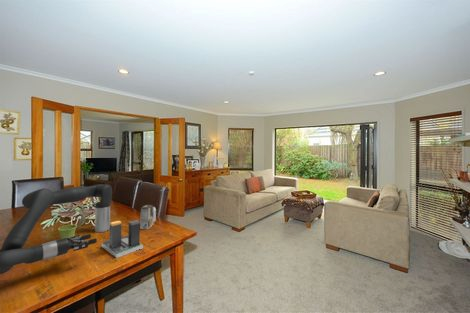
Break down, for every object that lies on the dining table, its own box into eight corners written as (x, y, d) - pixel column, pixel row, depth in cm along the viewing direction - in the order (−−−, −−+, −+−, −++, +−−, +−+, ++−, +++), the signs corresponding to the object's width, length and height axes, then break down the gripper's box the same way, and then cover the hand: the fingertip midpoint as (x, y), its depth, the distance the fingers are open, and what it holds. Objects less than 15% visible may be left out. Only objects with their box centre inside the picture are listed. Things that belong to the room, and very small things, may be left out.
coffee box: (145, 224, 162) (145, 204, 162) (153, 225, 162) (153, 204, 162) (139, 229, 153) (140, 207, 153) (148, 229, 153) (148, 208, 152)
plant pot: (80, 239, 134) (80, 225, 133) (64, 245, 125) (64, 231, 124) (70, 236, 137) (70, 223, 136) (54, 242, 128) (54, 228, 128)
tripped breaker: (109, 246, 120) (109, 222, 119) (118, 243, 124) (118, 220, 123) (111, 248, 118) (112, 224, 117) (121, 245, 122) (121, 221, 121)
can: (147, 220, 172) (147, 206, 172) (156, 220, 173) (157, 206, 172) (144, 223, 165) (144, 208, 164) (154, 223, 165) (154, 208, 165)
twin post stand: (101, 246, 124) (102, 220, 124) (127, 238, 136) (127, 214, 135) (116, 258, 112) (116, 228, 111) (142, 248, 124) (143, 221, 123)
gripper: (58, 245, 94) (98, 234, 107) (50, 236, 103) (88, 228, 116) (58, 261, 94) (98, 249, 107) (50, 251, 103) (88, 241, 116)
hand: (93, 238), depth 111 cm, fingers open, 8 cm apart
